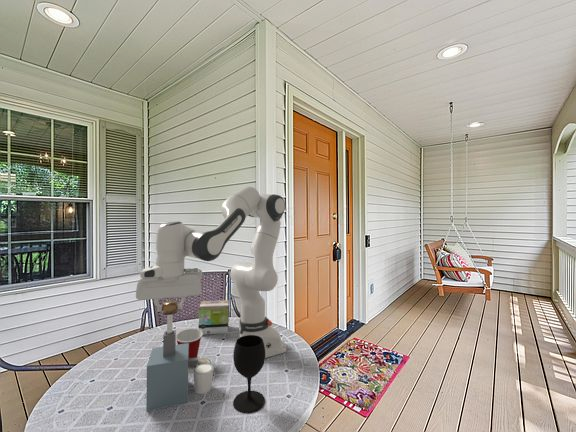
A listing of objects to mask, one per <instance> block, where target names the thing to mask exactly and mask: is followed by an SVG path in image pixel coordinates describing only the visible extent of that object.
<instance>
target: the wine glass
mask: <svg viewBox="0 0 576 432" xmlns="http://www.w3.org/2000/svg"><path fill="white" fill-rule="evenodd" d="M239 337H240V336H239ZM239 337H238V338H237V339H236V341H235V345H234V348H233V355H232V356H233V357H232V358H233V359H232V360H233V364H234V368H235V370H236V371H237V373H238V374H240V375H241V376H242V377H244V378H246V381H247V390H245V391H244V390H243V391H242V392H239V393H238V394H237V395H236V396H235V397H234V398H233V402H232V405H233V408H234V409H235V410H236V411H237V412H239V413H242V414H252V413H256V412H258V411H259V410H261V409H262V408H263V407H264V405H265V402H266V400H265V396H264V395H263V394H262V393H261V392H259V391H257V390H251V386H252V378H254V377H256V376H257V375H258V374H259V373H260V372H261V370H262V369H263V367H264V365H265V361H266V358H265V346H264V342H263V339H262V338H261V337H259V336H256V335H246V336H242V337H240V338H239Z"/></svg>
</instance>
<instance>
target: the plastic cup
mask: <svg viewBox="0 0 576 432" xmlns="http://www.w3.org/2000/svg"><path fill="white" fill-rule="evenodd" d="M203 335H204V334H203V332H202V331H201V330H199V328H192V327H191V328H186V329H183V330H180V331H178V332H177V333H176V343H177V344H176V345H178V344H185V343H189V358H195V357H197V358H198V354H199V350H200V346H201V345H200V344H201V340H202V337H203Z"/></svg>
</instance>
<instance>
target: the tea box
mask: <svg viewBox="0 0 576 432" xmlns="http://www.w3.org/2000/svg"><path fill="white" fill-rule="evenodd" d="M229 316H230V300H229V299H226V300H224V299H223V300H221V299H219V300H201V301H200V304H199V307H198V329H199V330H201V331H202V332H203V335H216V334H217V335H219V334H220V335H221V334H228V333H229V325H230V324H229V320H230V319H229Z"/></svg>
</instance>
